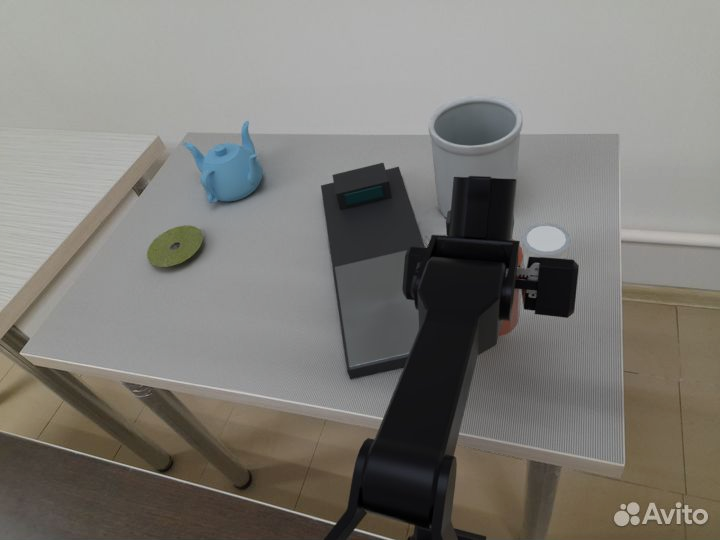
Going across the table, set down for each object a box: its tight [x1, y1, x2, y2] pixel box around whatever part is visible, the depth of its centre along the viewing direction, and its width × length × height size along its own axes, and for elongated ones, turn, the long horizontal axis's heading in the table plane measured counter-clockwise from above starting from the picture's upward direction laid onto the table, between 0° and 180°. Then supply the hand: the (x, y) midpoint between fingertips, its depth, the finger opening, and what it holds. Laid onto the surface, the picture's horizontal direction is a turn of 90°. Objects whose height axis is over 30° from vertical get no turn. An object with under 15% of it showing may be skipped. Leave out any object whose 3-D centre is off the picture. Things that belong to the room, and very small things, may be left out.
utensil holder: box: [428, 94, 524, 219], centre depth 90 cm, size 15×15×18 cm
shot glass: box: [521, 222, 572, 268], centre depth 80 cm, size 7×7×7 cm
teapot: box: [182, 120, 264, 204], centre depth 111 cm, size 15×15×10 cm
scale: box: [320, 162, 426, 380], centre depth 89 cm, size 44×16×6 cm, turn 8°
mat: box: [146, 225, 204, 268], centre depth 102 cm, size 11×11×2 cm
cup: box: [499, 238, 524, 337], centre depth 66 cm, size 7×7×12 cm
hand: (493, 275), depth 67 cm, fingers closed on cup, 7 cm apart
